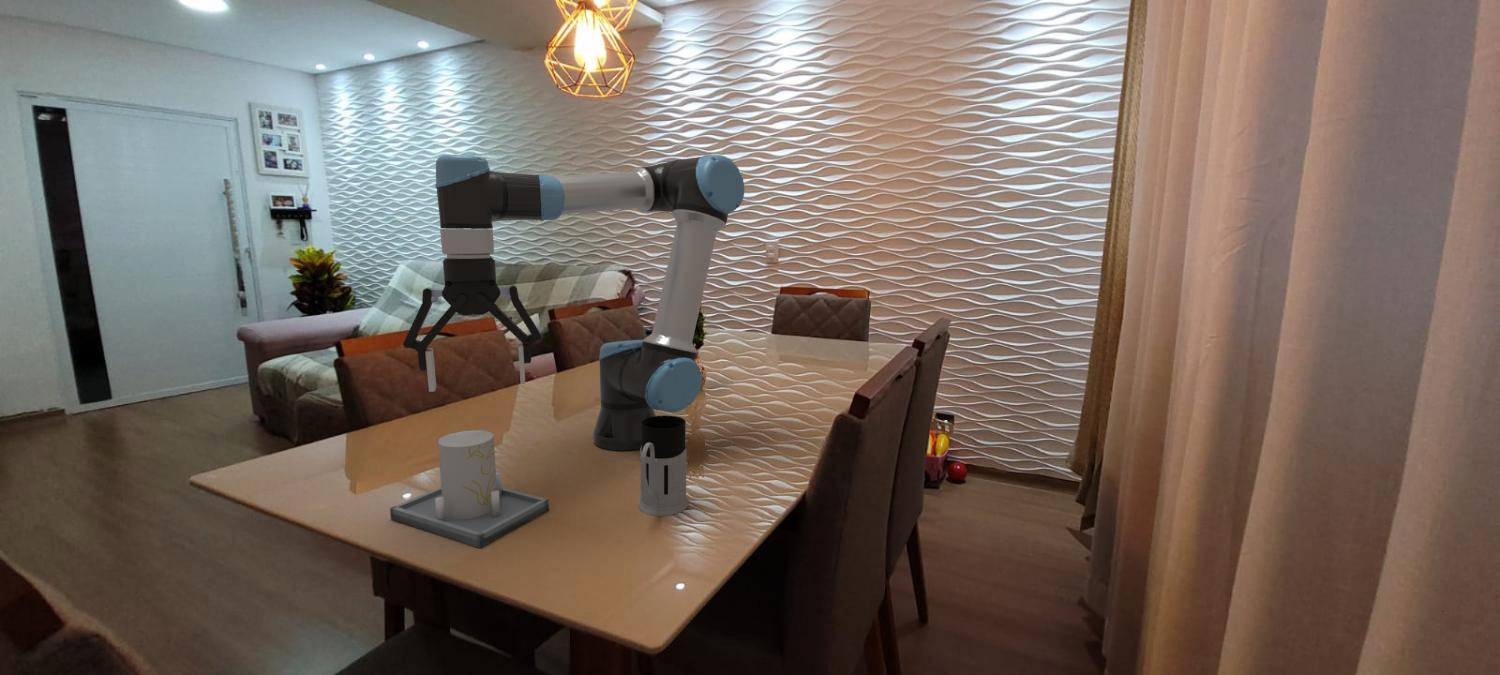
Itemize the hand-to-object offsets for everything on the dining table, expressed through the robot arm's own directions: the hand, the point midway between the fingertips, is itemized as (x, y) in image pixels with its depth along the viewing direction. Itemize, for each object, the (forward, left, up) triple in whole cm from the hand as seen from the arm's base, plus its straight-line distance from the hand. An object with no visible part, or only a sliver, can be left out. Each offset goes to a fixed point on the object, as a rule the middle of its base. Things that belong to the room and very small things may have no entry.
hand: (479, 386), depth 97 cm
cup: (+2, +3, -20) cm, 20 cm away
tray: (+2, +3, -21) cm, 21 cm away
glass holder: (-28, +9, -21) cm, 37 cm away
